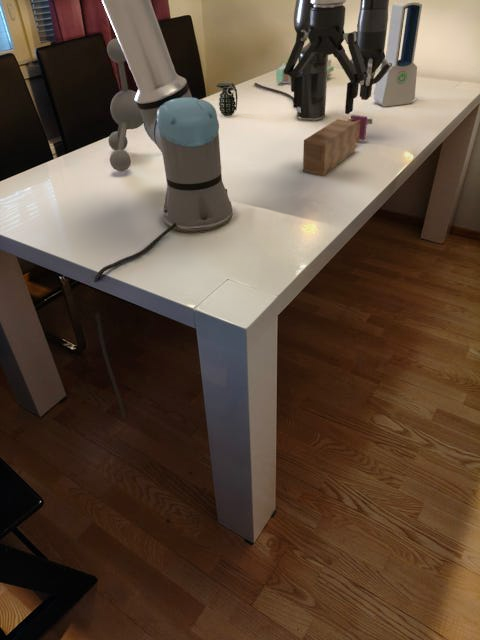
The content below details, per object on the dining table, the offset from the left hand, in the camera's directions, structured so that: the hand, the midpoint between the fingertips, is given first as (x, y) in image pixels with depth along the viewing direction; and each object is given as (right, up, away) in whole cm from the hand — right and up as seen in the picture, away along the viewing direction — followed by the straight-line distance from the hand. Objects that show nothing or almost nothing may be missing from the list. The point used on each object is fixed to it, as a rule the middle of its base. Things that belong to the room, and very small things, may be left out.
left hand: (322, 109), depth 118 cm
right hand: (+15, +12, +20) cm, 28 cm away
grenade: (-24, +20, +52) cm, 61 cm away
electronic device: (+34, +26, +54) cm, 69 cm away
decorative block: (+7, +51, +89) cm, 103 cm away
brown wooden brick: (+4, -8, +13) cm, 16 cm away
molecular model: (-47, -4, +22) cm, 52 cm away
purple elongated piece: (+11, -1, +20) cm, 23 cm away
